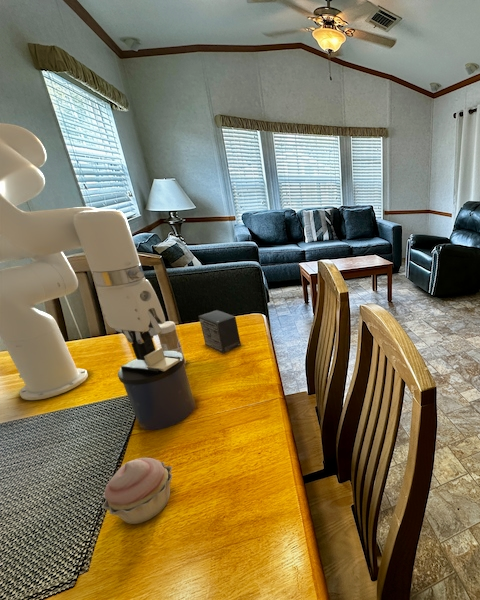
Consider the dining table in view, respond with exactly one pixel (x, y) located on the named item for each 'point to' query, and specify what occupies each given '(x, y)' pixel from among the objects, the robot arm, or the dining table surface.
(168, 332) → the sprinkles bottle
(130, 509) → the cupcake
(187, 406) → the dark blue canister
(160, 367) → the slider
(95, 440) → the dining table surface
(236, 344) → the small box
